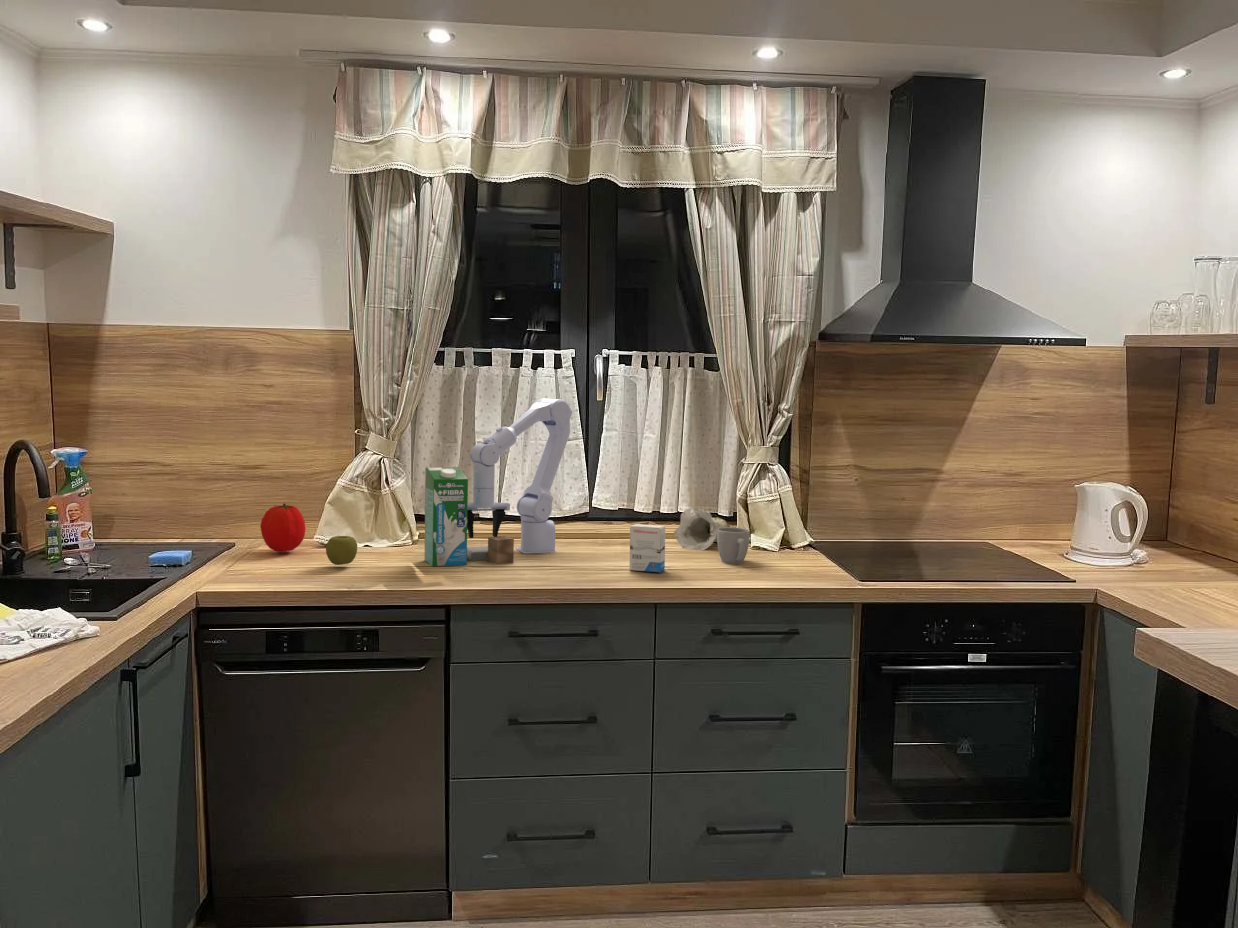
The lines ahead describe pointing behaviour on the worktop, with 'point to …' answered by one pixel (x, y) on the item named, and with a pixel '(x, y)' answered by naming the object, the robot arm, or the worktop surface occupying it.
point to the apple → (341, 549)
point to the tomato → (283, 528)
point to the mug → (733, 544)
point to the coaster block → (477, 553)
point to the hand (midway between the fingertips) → (483, 537)
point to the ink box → (647, 548)
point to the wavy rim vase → (698, 529)
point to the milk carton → (446, 516)
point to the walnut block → (500, 550)
